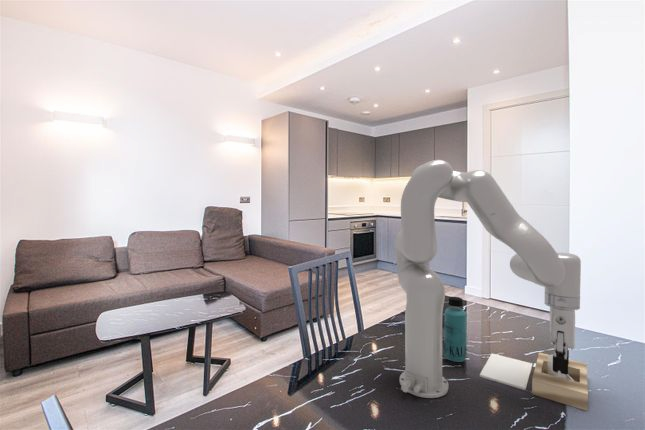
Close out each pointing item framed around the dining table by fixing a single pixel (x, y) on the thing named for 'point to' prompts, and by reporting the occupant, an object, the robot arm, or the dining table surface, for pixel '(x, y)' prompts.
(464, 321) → the beverage bottle
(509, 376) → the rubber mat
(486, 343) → the dining table surface
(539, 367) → the block
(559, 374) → the white angled block
